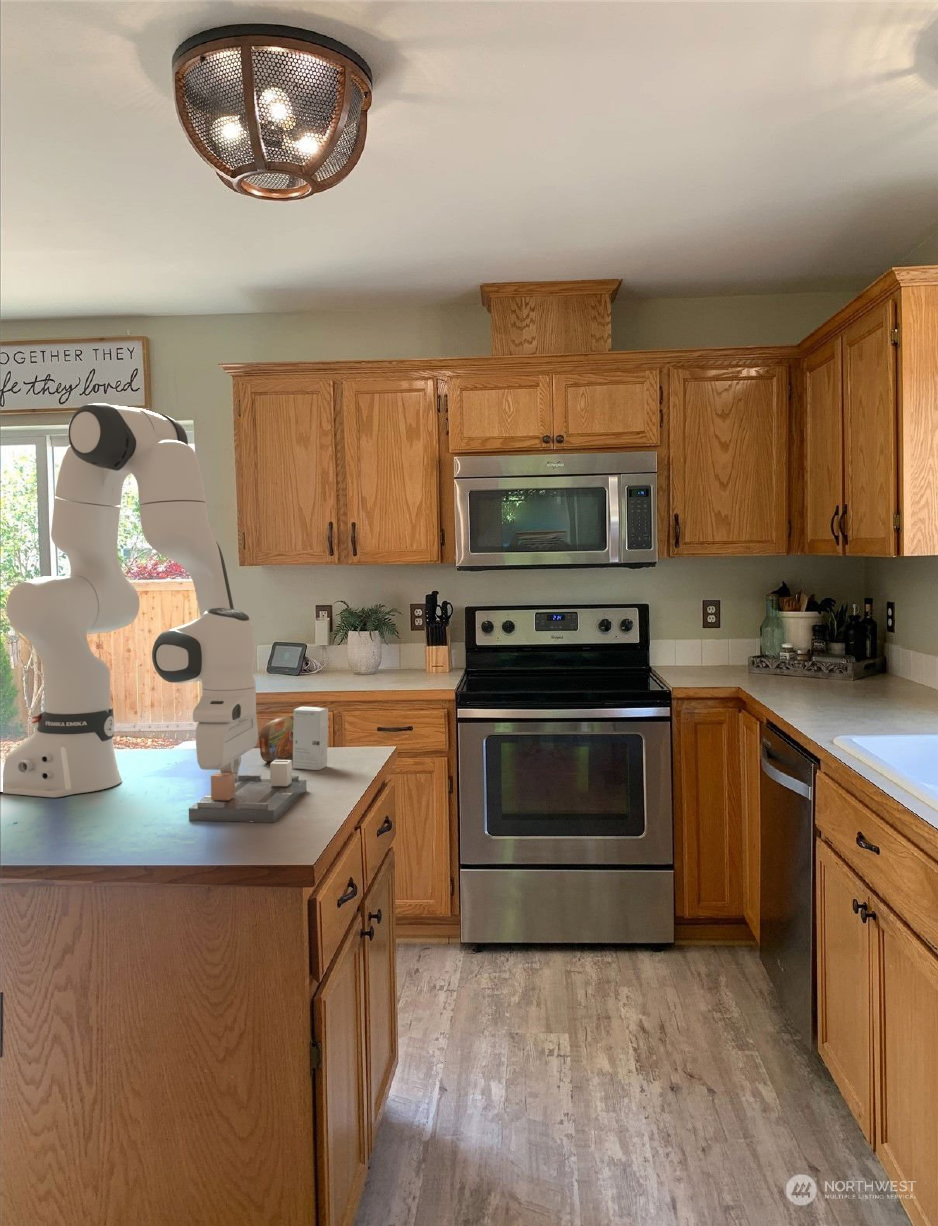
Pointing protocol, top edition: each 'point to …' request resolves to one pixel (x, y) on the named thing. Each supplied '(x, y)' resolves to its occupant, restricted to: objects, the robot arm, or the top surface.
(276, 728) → the tin
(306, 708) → the skincare box
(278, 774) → the fader
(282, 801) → the panel
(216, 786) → the fader
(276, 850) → the top surface
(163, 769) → the top surface
